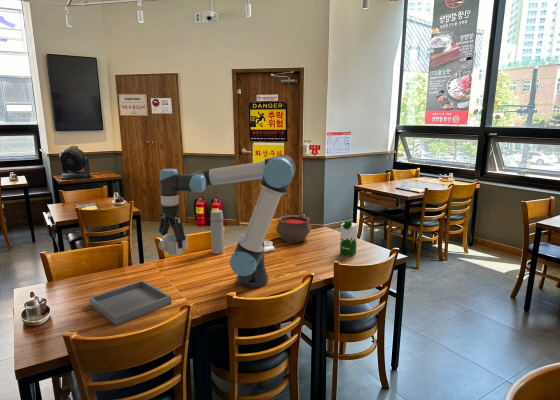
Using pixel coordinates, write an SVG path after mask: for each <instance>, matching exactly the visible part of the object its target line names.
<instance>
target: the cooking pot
mask: <svg viewBox="0 0 560 400" xmlns="http://www.w3.org/2000/svg"><path fill="white" fill-rule="evenodd" d="M310 220H311V217H308V216H306V215H305V213H304V212H303V211H302V212H301V213H300V215H299V214H298V215H297V214H287V215H283V216H279V217H278V218H277V221H278V224H277V226H276V227H275V228H276V229H275V231H276V232H277V233H278V234H279V236H280V237H281V239H282V240H283V241H285V242H286V243H295V242H296V243H300V241H301V242H303V241H305V239H306V237H307V236H308V235H309V233H310V232H311V231H312V226H311V223H310Z"/></svg>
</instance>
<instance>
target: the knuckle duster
mask: <svg viewBox="0 0 560 400" xmlns="http://www.w3.org/2000/svg"><path fill="white" fill-rule="evenodd" d="M264 242H265V243H264V253H268V252H274V251H275V250H276V248H275V246H273V241H271V240H264Z"/></svg>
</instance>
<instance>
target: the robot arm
mask: <svg viewBox="0 0 560 400" xmlns="http://www.w3.org/2000/svg"><path fill="white" fill-rule="evenodd" d="M296 171H297V165H296V162H295V160H294V159H293V158H292V157H291V156H288V155H286V154H279V155H276V156H273V157H269V158H264V160H263V161H256V162H251V163H245V164H244V163H242V164H236V165H230V166H224V167H223V166H222V167H217V168H215V167H214V168H210V169H199V170H198V171H195V172H192V173H190V174H187V173H186V174H182V173H178V169H177V168H176V169H175V168H163V169H161V170H160V171H159V184H160V185H159V187H160V204H161V205H160V206H161V213H160V216H159V217H160V219H159V228H158V232H159V234H161V237H162V238H161V241H162V240H163V236H164V235H166V234H169V229H170V228H172V231H173V233H174V234H175V237H176V240H177V241H176V255H175V256H181V255H183V253H184V252H183V251H182V241H183V240H185V235H186V234H185V232H184V226H183V220H182V218H181V217H178V213H180V204H179V203H180V201H179V200H180V199H179V198H180V196H179V193H180V192H182V193H185V192H187V193H203V192H205V191H206V187H210V186H218V185H224V184H233V183H239V182H247V181H253V180H260V182H259V183H260V187H261V190H260V193H259V196H258V199H257V201H256V204H255V206H254V209H253V211H252V214H251V217H250V220H249V222H248V225H247V227H246V229H245V232H244V235H241V236H239V239H238V240H237V244H236V247H235V250H234V252H233V253H232V255H231V256H230V259H229V266H230V268H231V270H232V271H233V273H234V274H236V275H237V276H236V284H237V285H238V286H240V287H243V288H246V289H247V288H248V289H255V288H261V287H264V286H266V285H267V284H268V283H269V275H268V273H267V270H266V266H265V252H264V243H265V242H264V241H265V237H266V235H267V233H268V231H269V228H270V225H271V222H272V220H273V217H274V215H275V213H276V209H277V208H278V205H279V202H280V199H281V197H282V196H283V195H286V194H287V192H288V189H289V187H290V184H291V182H292V180H293V177H294V176H295V174H296ZM184 234H185V235H184Z"/></svg>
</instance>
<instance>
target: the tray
mask: <svg viewBox="0 0 560 400" xmlns="http://www.w3.org/2000/svg"><path fill="white" fill-rule="evenodd" d="M88 299H89V306H90V307H91V308H92V309H93V310H95V311H96V312H97V313H99V314H100V315H101V316H103V317H104V318H105V319H106V320H108V321H109V322H110V323H111V324H112V325H113V326H115V327H117V326H120V325H122V324H124V323H127V322H130V321H132V320H134V319H137V318H140V317H142V316H145V315H147V314H150V313H153V312H154V311H157V310H160V309H161V308H165V307H167V306H170V305H172V296H171V295H169V294H167V292H164V291H163V290H160V289H159V288H157V287H155V286H153V285H152V284H150V283H148V282H146V281H145V280H143V279H142V280H139V281H136V282H133V283H130V284H126V285H124V286H120V287H118V288H115V289H112V290H111V289H110V290H109V291H105V292H102V293H100V294H97V295H93V296H90V297H89V298H88Z"/></svg>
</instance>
